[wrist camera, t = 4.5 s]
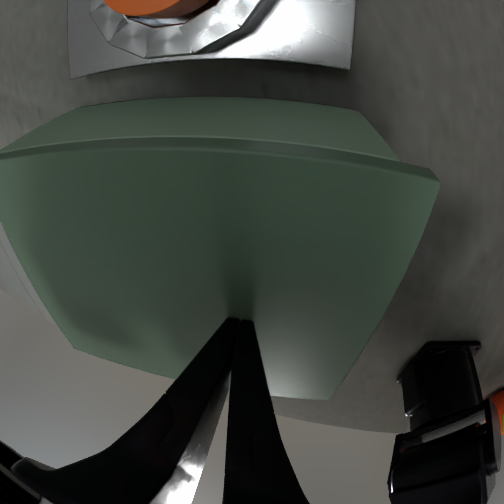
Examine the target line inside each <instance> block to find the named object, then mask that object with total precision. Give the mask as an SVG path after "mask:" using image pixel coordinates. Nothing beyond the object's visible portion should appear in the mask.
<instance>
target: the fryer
mask: <svg viewBox="0 0 504 504" xmlns="http://www.w3.org/2000/svg"><path fill="white" fill-rule="evenodd" d="M147 137H201V138H227V139H244V140H257V141H269V142H279V143H289V144H298V145H306V146H313V147H321V148H328V149H334V150H341V151H347V152H353V153H358V154H364V155H369V156H374V157H379V158H384V159H389V160H394V161H398V162H401V160H400V159H399V158H398V156H397V155H396V154H395V153H394V151H393V150H392V149H391V148H390V146H389V145H388V144H387V143H386V142H385V140H384V139H383V138H382V137H381V136H380V134H379V133H378V132H377V131H376V130H375V129H374V127H373V126H372V125H371V124H370V123H369V122H368V121H367V120H366V118H365V117H364V116H363V115H362V114H361V113H360V112H359V111H356V110H351V109H345V108H340V107H334V106H327V105H320V104H313V103H305V102H297V101H288V100H277V99H264V98H247V97H171V98H154V99H142V100H131V101H122V102H114V103H106V104H100V105H93V106H87V107H81V108H77V109H74V110H72V111H70V112H68V113H66V114H64V115H62V116H60V117H58V118H56V119H54V120H52V121H50V122H48V123H46V124H44V125H42V126H40V127H38V128H37V129H35V130H33V131H31V132H29V133H28V134H26V135H24V136H22V137H21V138H19V139H17V140H16V141H14V142H12V143H11V144H9V145H8V146H6V147H5V148H3V149H1V150H0V154H1V153H6V152H11V151H16V150H22V149H28V148H34V147H40V146H47V145H55V144H63V143H72V142H81V141H92V140H105V139H122V138H147Z"/></svg>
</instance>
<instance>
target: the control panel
mask: <svg viewBox="0 0 504 504" xmlns="http://www.w3.org/2000/svg"><path fill="white" fill-rule="evenodd" d="M355 14H356V0H209V1H208V2H207V3H206V4H204V5H203V6H201V7H200V8H198V9H197V10H195V11H193V12H191V13H188V14H186V15H183V16H179V17H175V18H167V19H159V18H150V17H139V16H129V15H124V14H120V13H118V12H116V11H114V10H112V9H111V8H110V7H109V6H108V5H107V4H106V3H105V2H104V1H103V0H68V7H67V35H68V58H69V71H70V79H75V78H79V77H83V76H87V75H92V74H96V73H101V72H106V71H111V70H116V69H122V68H128V67H134V66H141V65H148V64H157V63H166V62H177V61H192V60H219V59H239V60H266V61H281V62H292V63H302V64H310V65H318V66H325V67H331V68H337V69H343V70H350V69H351V61H352V51H353V40H354V28H355Z"/></svg>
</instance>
